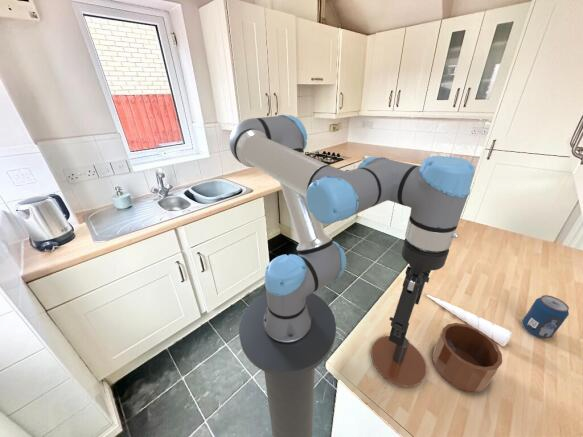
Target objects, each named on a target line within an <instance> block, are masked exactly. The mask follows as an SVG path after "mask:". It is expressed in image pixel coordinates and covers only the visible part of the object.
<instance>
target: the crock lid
mask: <svg viewBox="0 0 583 437" xmlns="http://www.w3.org/2000/svg"><path fill="white" fill-rule="evenodd" d="M389 336H390V335H385V336H382V337H380V338H378V339H377V340H375V342H374V343H373V344H372V347H371V359H372V363H373V365H374V367H375V369H376V371H377V372H379V374H380V375H381V376H382V377H383V378H384V379H386V380H387V381H389V382H390V383H392V384H393V385H396V386H399V387H405V388H412V387H415V386H418V385H420V383H422V381H423V380H424V378H425V376H426V372H427V366H426V361H425V360H424V357H423V355H422V354H421V352H420V351H419V350H418V349H417V348H416V346H414V345H413V344H412V343H410V341H409V340H408V338H407V337H405V340H404V343H403V346H402V347H401V346H399V345H397V344H395V343H393V342H391V341H389Z"/></svg>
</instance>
